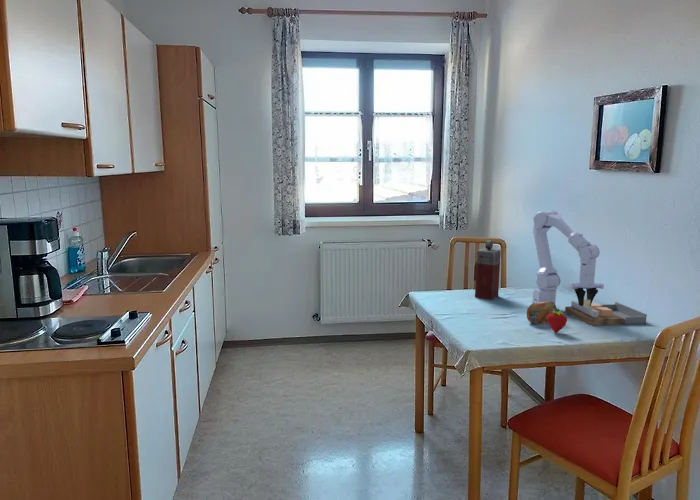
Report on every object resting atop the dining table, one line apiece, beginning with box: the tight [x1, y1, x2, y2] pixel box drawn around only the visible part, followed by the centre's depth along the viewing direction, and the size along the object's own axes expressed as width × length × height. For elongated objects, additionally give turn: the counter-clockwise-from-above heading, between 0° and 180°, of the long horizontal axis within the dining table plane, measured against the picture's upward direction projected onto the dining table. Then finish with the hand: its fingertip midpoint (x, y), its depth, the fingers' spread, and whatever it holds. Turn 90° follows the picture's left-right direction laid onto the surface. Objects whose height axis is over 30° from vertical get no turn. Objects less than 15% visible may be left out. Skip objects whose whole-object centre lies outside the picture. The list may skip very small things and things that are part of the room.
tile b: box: [590, 302, 603, 310], centre depth 230 cm, size 4×4×2 cm
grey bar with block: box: [570, 297, 599, 317], centre depth 225 cm, size 3×17×6 cm, turn 8°
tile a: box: [596, 307, 612, 316], centre depth 223 cm, size 4×4×2 cm
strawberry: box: [547, 310, 568, 334], centre depth 206 cm, size 6×8×10 cm
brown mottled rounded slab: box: [526, 301, 558, 325], centre depth 220 cm, size 15×3×8 cm, turn 117°
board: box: [564, 305, 625, 326], centre depth 227 cm, size 14×20×2 cm
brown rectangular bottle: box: [473, 239, 502, 301], centre depth 261 cm, size 9×11×28 cm
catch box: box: [601, 301, 648, 325], centre depth 228 cm, size 10×20×4 cm, turn 8°
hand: (584, 305), depth 225 cm, fingers closed on grey bar with block, 3 cm apart
